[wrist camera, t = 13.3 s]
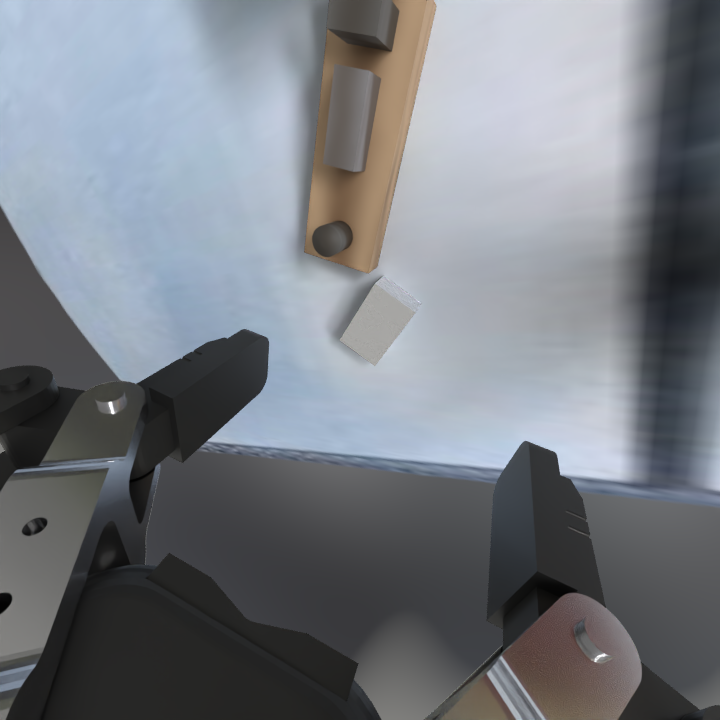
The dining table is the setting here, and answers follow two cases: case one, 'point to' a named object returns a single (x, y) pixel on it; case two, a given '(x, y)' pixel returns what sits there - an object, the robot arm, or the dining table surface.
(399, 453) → the dining table surface
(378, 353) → the lever cap
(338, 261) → the body
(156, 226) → the dining table surface
